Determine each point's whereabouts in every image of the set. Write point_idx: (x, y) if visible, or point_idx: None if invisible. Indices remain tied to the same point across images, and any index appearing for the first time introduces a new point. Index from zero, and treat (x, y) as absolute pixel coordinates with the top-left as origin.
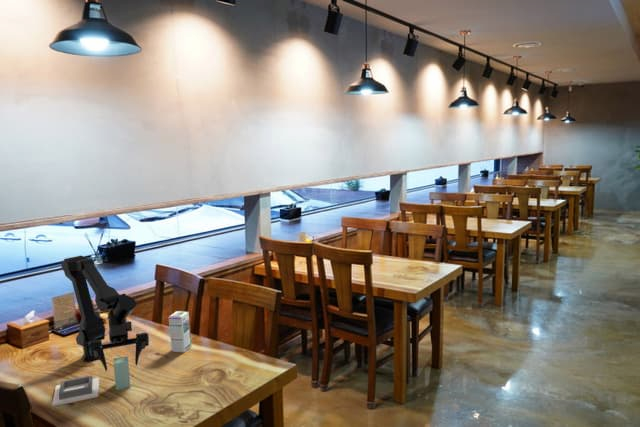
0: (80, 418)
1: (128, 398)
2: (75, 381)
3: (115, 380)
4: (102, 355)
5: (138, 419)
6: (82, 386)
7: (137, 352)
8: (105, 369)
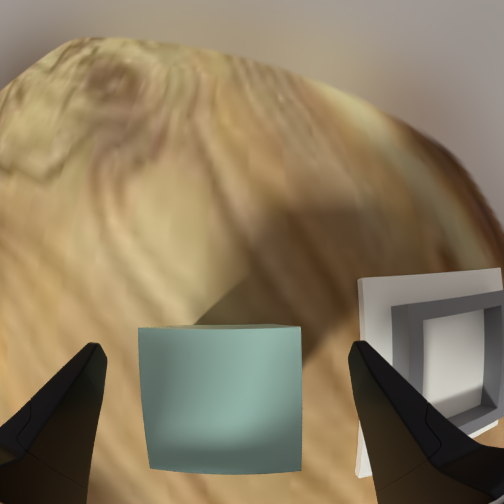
0: (388, 127)
1: (209, 196)
2: (461, 421)
3: (276, 324)
4: (443, 445)
5: (193, 53)
6: (430, 398)
7: (31, 415)
8: (367, 342)
